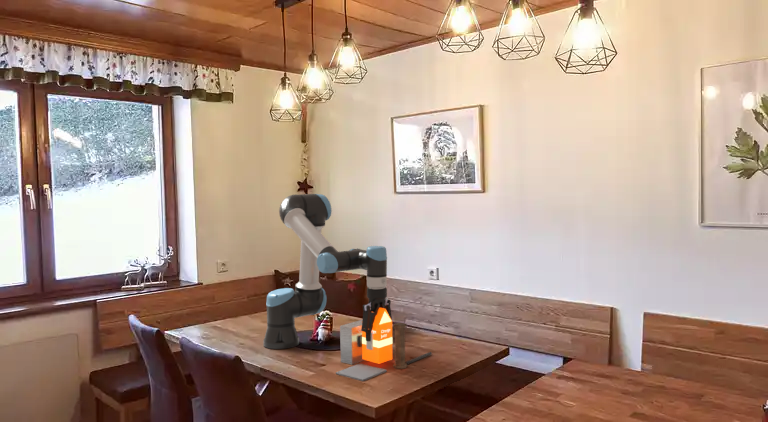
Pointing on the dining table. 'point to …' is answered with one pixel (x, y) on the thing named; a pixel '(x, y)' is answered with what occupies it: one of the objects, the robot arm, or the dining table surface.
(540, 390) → the dining table surface
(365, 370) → the felt mat
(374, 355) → the orange juice
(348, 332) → the box
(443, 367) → the dining table surface
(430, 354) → the dark gray rod
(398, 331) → the cable post
